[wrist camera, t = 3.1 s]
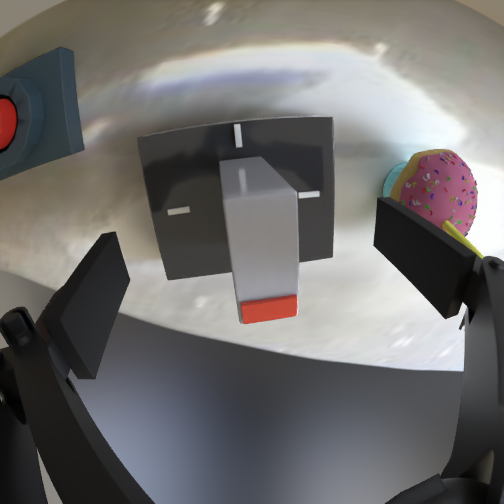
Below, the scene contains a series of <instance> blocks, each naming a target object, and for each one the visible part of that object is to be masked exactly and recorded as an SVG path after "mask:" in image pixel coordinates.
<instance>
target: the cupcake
mask: <svg viewBox="0 0 504 504" xmlns="http://www.w3.org/2000/svg"><path fill="white" fill-rule="evenodd" d="M476 185H477V183H476V181H474V178H473V175H472V173H471V170H470V168H469V167H468V166H467V164H466V163H465V162H464V161H463V160H462V159H461V158H460V157H459V156H458V155H457V154H456V153H454V152H453V151H451V150H447V149H434V150H427V151H422V152H418V153H415V154H414V155H413V156H412V157H411V158H410V160H409V162H408V163H402V164H400V165H398V166H396V167H395V168H393V169H392V170H391V172H390V173H389V174H388V176H387V178H386V180H385V183H384V187H383V197H390V198H392V199H394V200H396V201H397V202H399V203H401V204H402V205H404V206H406V207H407V208H409V209H411V210H412V211H414V212H415V213H417V214H419V215H420V216H422V217H423V218H425V219H427V220H428V221H430V222H431V223H433V224H434V225H436V226H437V227H439V228H440V229H442V230H443V231H445V232H446V233H448V234H449V235H451V236H452V237H454V238H455V239H456V240H458V241H459V242H461V243H462V244H464V245H465V246H466V247H468V248H469V249H471V250H472V251H473V252H475V253H476V254H477V255H478V256H479V257H481V258H482V259H483V258H484V256H483V255H482V254H481V253H480V252H479V251H478V250H477V249H476V248H475V247H474V246H473V245H472V244H471V243H470V242H469V241H468V240H467V239H466V238H465V236H467V234H468V233H467V232H468V231H469V230H470V227H471V225H472V224H473V220H474V218H475V213H476V208H477V194H478V191H477V188H476Z"/></svg>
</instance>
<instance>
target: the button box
mask: <svg viewBox="0 0 504 504" xmlns="http://www.w3.org/2000/svg"><path fill="white" fill-rule="evenodd" d="M0 99H8V100H9V101H11V102H12V103H13V105H14V107H15V109H16V113H17V126H16V131H15V134H14V136H13V138H12V140H11V141H10V143H9V144H8V145H7V146H6V147H4V148H2V149H0V181H1V180H3V179H5V178H8V177H10V176H13V175H15V174H18V173H20V172H23V171H25V170H28V169H31V168H33V167H36V166H39V165H41V164H44V163H47V162H50V161H53V160H56V159H59V158H62V157H65V156H68V155H72V154H74V153H77V152H79V151H82V150H84V144H83V138H82V132H81V125H80V118H79V111H78V103H77V94H76V84H75V71H74V54H73V51H72V50H69V49H66V48H62V47H59V48H56V49H54V50H52V51H50V52H48V53H46V54H43V55H41V56H39V57H37V58H35V59H33V60H31V61H30V62H28V63H26V64H24V65H22V66H20V67H18V68H17V69H15V70H13V71H11V72H10V73H8V74H6V75H5V76H3V77H1V78H0Z"/></svg>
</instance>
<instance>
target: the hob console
mask: <svg viewBox="0 0 504 504" xmlns="http://www.w3.org/2000/svg"><path fill="white" fill-rule="evenodd" d="M137 141H138V147H139V153H140V159H141V165H142V170H143V176H144V181H145V186H146V191H147V196H148V201H149V206H150V210H151V215H152V219H153V224H154V228H155V232H156V237H157V241H158V245H159V249H160V253H161V257H162V261H163V265H164V268H165V272H166V276H167V279H168V280H175V279H183V278H191V277H198V276H206V275H213V274H221V273H228V272H232V268H231V260H230V253H229V246H228V239H227V232H226V224H225V217H224V209H223V201H222V191H221V181H220V171H219V161H225V160H233V159H241V158H250V157H260V156H261V157H262V158H263V159H264V160H266V161H267V162H268V163H269V164H270V165H271V166H272V167H273V168H274V169H275V170H276V171H277V172H278V173H279V174H280V175H281V176H282V177H283V178H284V179H285V180H286V181H287V182H288V183H289V184H290V185H291V186H292V187H293V188H294V189H295V190H296V191H297V199H298V234H299V262H306V261H312V260H319V259H326V258H332V257H333V236H334V132H333V117H330V116H319V115H308V116H282V117H266V118H254V119H243V120H233V121H224V122H216V123H208V124H201V125H195V126H188V127H182V128H176V129H170V130H165V131H160V132H155V133H150V134H146V135H144V136H141V137H138V138H137Z"/></svg>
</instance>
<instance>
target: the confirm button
mask: <svg viewBox="0 0 504 504" xmlns="http://www.w3.org/2000/svg"><path fill="white" fill-rule="evenodd" d="M16 126H17V113H16V109H15V107H14V105H13V103H12V102H11V101H9V100H8V99H0V149H2V148H4V147H6V146H7V145H8V144H9V143H10V141H11V140H12V138H13V136H14V134H15V131H16Z"/></svg>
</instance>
